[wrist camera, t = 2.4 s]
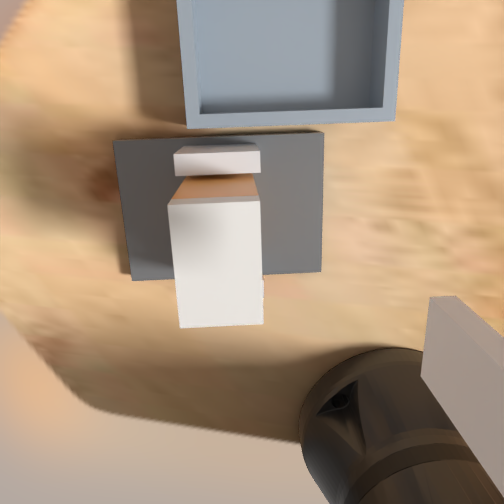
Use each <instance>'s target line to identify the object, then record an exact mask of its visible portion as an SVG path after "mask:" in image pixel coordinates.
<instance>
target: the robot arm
mask: <svg viewBox="0 0 504 504" xmlns="http://www.w3.org/2000/svg"><path fill="white" fill-rule="evenodd" d="M299 438H300V443H301V448H302V453H303V457H304V460H305V463H306V466H307V468H308V470H309V472H310V474H311V476H312V477H313V479H314V481H315V482H316V484H317V485H318V486H319V488H320V490H321V491H322V493H323V494H324V496H325V497H326V499H327V500H328V502H329V503H330V504H504V337H502V336H501V335H500V334H499V333H498V332H497V331H496V330H494V329H493V328H492V327H491V326H490V325H489V324H487V323H486V322H485V321H484V320H483V319H482V318H481V317H479V316H478V315H477V314H476V313H475V312H474V311H473V310H471V309H470V308H469V307H468V306H467V305H466V304H464V303H463V302H462V301H461V300H460V299H459V298H458V297H456V296H441V297H430V301H429V309H428V318H427V326H426V334H425V343H424V351H423V352H419V351H415V350H410V349H397V348H395V349H381V350H375V351H370V352H367V353H363V354H360V355H357V356H355V357H352V358H350V359H348V360H346V361H344V362H342V363H341V364H339V365H337V366H336V367H334V368H333V369H332V370H330V371H329V372H328V373H326V374H325V375H324V376H323V377H322V378H321V379H320V380H319V381H318V382H317V383H316V385H315V386H314V387H313V388H312V390H311V391H310V393H309V394H308V396H307V398H306V400H305V402H304V404H303V407H302V410H301V413H300V417H299Z"/></svg>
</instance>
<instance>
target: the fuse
mask: <svg viewBox="0 0 504 504" xmlns="http://www.w3.org/2000/svg"><path fill="white" fill-rule="evenodd" d="M167 207H168V217H169V227H170V236H171V246H172V256H173V265H174V275H175V285H176V295H177V304H178V314H179V324H180V328H195V327H215V326H234V325H254V324H264V320H263V285H262V250H261V215H260V199H259V195H258V192H257V188H256V185H255V181H254V177H253V174H252V173H241V174H217V175H192V176H186V177H185V179H184V180H183V182H182V184H181V185H180V187H179V188H178V190H177V191H176V193H175V194H174V196H173V197H172V199H171V200H170V202H169V203H168V205H167Z"/></svg>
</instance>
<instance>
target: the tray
mask: <svg viewBox="0 0 504 504" xmlns="http://www.w3.org/2000/svg"><path fill="white" fill-rule="evenodd" d="M176 1H177V13H178V25H179V37H180V49H181V61H182V74H183V86H184V98H185V110H186V122H187V129H200V128H226V127H252V126H279V125H305V124H331V123H357V122H384V121H395V114H396V101H397V87H398V74H399V60H400V47H401V33H402V20H403V7H404V0H176Z"/></svg>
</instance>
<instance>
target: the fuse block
mask: <svg viewBox="0 0 504 504" xmlns="http://www.w3.org/2000/svg"><path fill="white" fill-rule="evenodd" d="M113 148H114V155H115V162H116V169H117V176H118V184H119V191H120V198H121V205H122V212H123V219H124V227H125V234H126V241H127V248H128V255H129V262H130V270H131V277H132V281H144V280H165V279H175V275H174V265H173V256H172V246H171V236H170V227H169V217H168V207H167V205H168V203H169V202H170V200H171V199H172V197H173V196H174V194H175V193H176V191H177V190H178V188H179V187H180V185H181V184H182V182H183V180H184V179H185V177H186V176H192V175H217V174H241V173H252V174H253V177H254V181H255V185H256V188H257V192H258V195H259V199H260V215H261V250H262V285H263V298H264V280H263V275H269V274H290V273H310V272H321V260H322V213H323V167H324V133H323V132H307V133H281V134H255V135H229V136H203V137H177V138H151V139H125V140H114V141H113Z"/></svg>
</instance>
